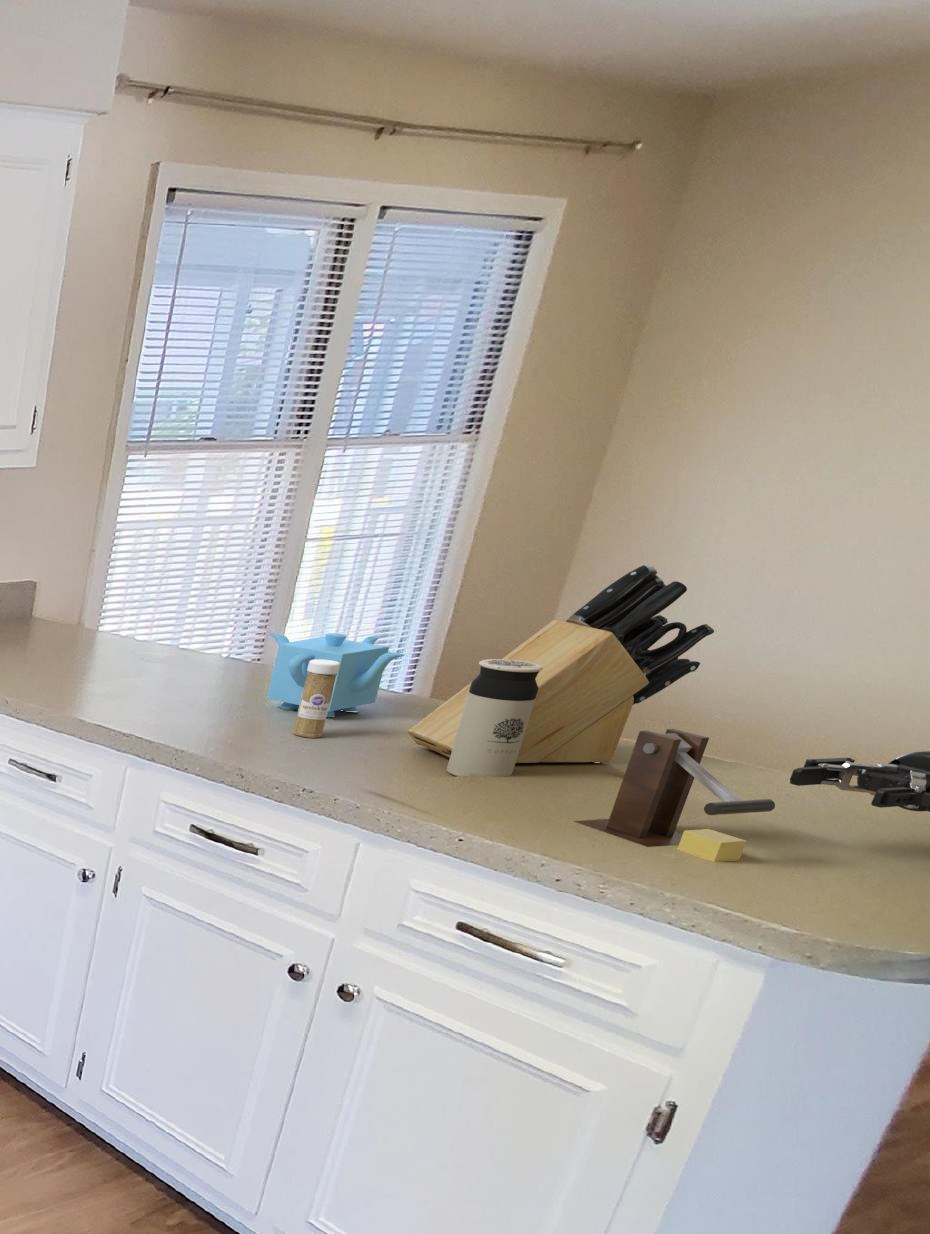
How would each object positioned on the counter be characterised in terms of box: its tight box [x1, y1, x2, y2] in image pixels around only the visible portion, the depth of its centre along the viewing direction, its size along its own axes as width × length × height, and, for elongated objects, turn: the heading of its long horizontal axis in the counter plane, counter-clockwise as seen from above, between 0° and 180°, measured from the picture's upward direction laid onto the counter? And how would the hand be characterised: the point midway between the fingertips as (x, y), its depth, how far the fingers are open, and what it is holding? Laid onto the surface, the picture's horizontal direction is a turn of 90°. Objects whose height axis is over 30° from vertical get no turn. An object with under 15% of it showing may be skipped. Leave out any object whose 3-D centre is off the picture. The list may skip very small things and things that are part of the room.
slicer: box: [573, 728, 710, 848], centre depth 147 cm, size 10×9×15 cm
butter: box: [677, 828, 748, 863], centre depth 141 cm, size 7×7×4 cm
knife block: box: [407, 563, 715, 764], centre depth 180 cm, size 11×35×31 cm, turn 88°
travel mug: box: [446, 658, 543, 778], centre depth 173 cm, size 8×8×18 cm
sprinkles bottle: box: [292, 659, 340, 739], centre depth 197 cm, size 5×5×14 cm
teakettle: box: [266, 632, 406, 717], centre depth 213 cm, size 19×19×15 cm
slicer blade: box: [661, 733, 776, 816], centre depth 142 cm, size 13×8×2 cm, turn 7°
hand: (835, 787), depth 138 cm, fingers open, 8 cm apart
